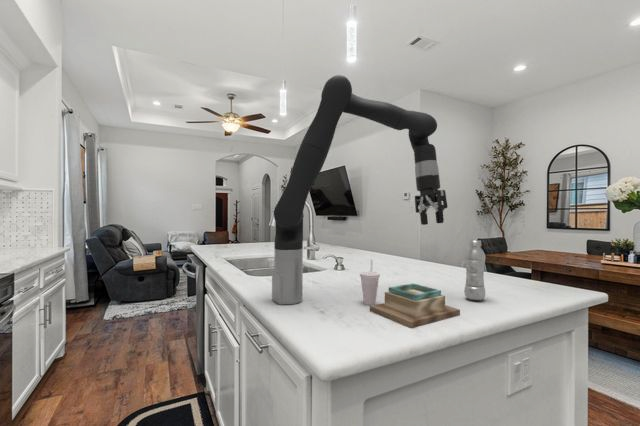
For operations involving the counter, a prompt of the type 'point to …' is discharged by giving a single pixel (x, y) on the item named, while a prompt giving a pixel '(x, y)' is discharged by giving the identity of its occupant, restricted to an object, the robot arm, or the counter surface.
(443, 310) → the pedestal
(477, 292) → the plastic bottle
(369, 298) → the smoothie
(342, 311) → the counter surface
